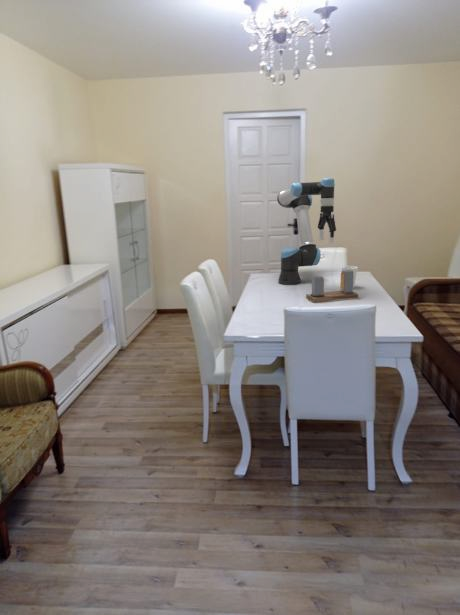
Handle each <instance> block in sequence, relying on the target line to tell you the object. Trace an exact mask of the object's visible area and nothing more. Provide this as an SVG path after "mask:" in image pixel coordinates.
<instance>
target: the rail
mask: <svg viewBox="0 0 460 615" xmlns="http://www.w3.org/2000/svg"><path fill="white" fill-rule="evenodd" d="M311 294H312V293H309V294H306V295H305V299H306V300H308V302H309V301H310V302H311V303H313V304H315V303H316V304H317V303H326V302H334V300H337V301H344V300H346V299H347V300H355V299H359V293H357V292H354V291H353V293H350V294H343V293H341V290H338V291H328V292H326V291H325V292H324V296H323V297H312V296H311ZM347 300H346V301H347Z"/></svg>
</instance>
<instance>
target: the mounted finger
mask: <svg viewBox="0 0 460 615" xmlns="http://www.w3.org/2000/svg"><path fill="white" fill-rule="evenodd" d="M353 274H354V271H351V270H345V271H342V270H341V272H340V287H339V288H340V291H341V293H343V294H350V293H353V292H354V288H353Z"/></svg>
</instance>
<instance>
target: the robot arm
mask: <svg viewBox="0 0 460 615" xmlns="http://www.w3.org/2000/svg"><path fill="white" fill-rule="evenodd" d="M335 185H336V184H335V179H334V178H333V177H331V178H329V177H328V178H327V177H326V178H321V181H313V182H293V183H292V184H291V186H290V188H288V189H287V190H283V191H281V192H279V193H278V194H277V197H276V201H277V203H278V204H279V206H281V207H283V208H285V209H292V210H293V212H294V213H295V216H296V222H297V230H298V235H299V243H300V246H299V247H297V246H293V247H291V246H290V247H287V248H284V249H282V250H281V251H280V273H279V276H278V279H277V280H278V281H277V283H278V284H279V285H280V284H281V285H285V286H289V285H298V284H301V281H302V280H301V276H300V273H299V268H301V267H309V266H310V267H313V266H317V265H318V264H319V263H320V261H321V254H322V253H321V249H320V248H319V247H317V245H316V243H315V242H314V239H313V234H312V233H313V232H312V227H311V226H312V225H311V220H310V214H309V211H310V209H311V206H312V204H313V197H312V196H320V201H319V202H320V205H321V206H320V213H319V219H318V223H317V224H318V225H317V229H318V231H319V233H318V235H319V236H318V237H319V238H318V241H324V240H325V239H324V237H325V236H324V234H325V225H326V223H327V226H328V229H329V231H328V234H329V235H328V244H334V241H335V232H336V231H337V227H336V220H335V214H333V213H334V210H335V209H334V205H335Z"/></svg>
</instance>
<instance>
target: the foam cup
mask: <svg viewBox="0 0 460 615" xmlns="http://www.w3.org/2000/svg"><path fill="white" fill-rule="evenodd" d="M358 268H359V267H358V266H354V265H344V266H342V267H341V272H342V271H345V270H351V271H354V274H353V289H354V288H355V286H356V285H355V284H356V279H357V273H358Z"/></svg>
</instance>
